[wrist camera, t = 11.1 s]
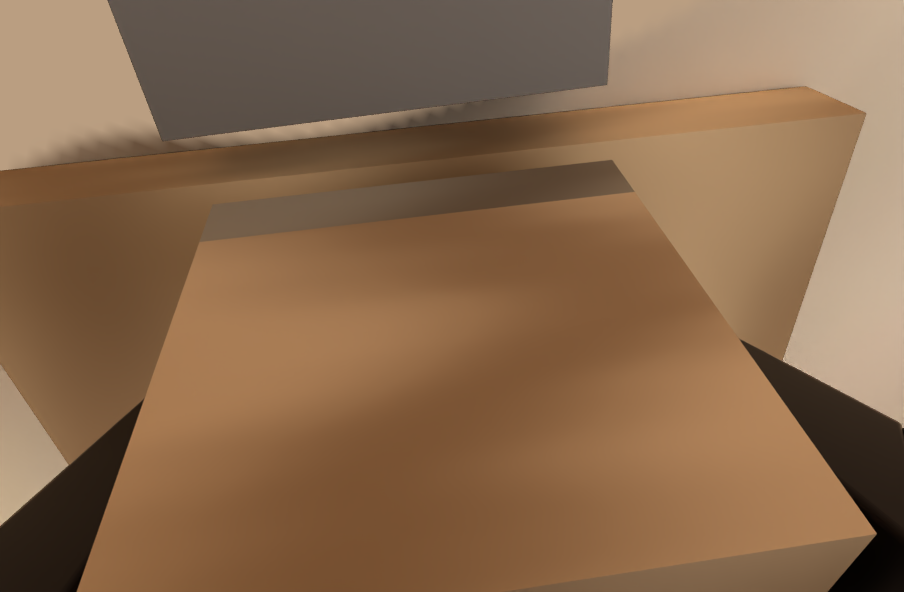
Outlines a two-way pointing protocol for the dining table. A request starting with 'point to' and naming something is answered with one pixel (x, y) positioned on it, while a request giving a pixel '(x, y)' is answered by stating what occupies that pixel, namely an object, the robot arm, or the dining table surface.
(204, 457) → the tan rectangular block
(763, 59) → the dining table surface
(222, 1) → the graphite stick
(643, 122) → the oak board
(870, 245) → the dining table surface
